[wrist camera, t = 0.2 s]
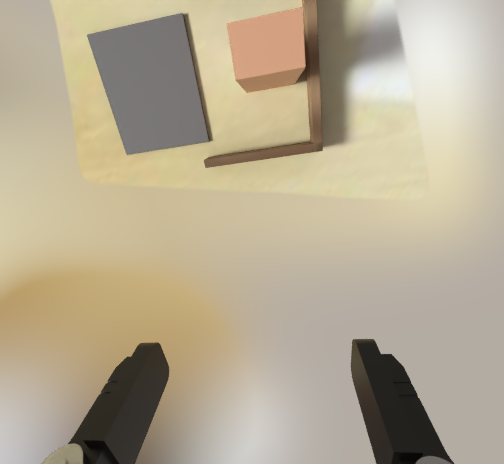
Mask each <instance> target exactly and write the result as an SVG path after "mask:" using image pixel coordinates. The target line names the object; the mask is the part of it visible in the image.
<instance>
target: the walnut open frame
mask: <svg viewBox="0 0 504 464" xmlns="http://www.w3.org/2000/svg"><path fill="white" fill-rule="evenodd" d="M302 4H303V21H304V38H305V55H306V73H307V90H308V107H309V124H310V141H311V142H305V143H298V144H292V145H285V146H278V147H272V148H265V149H259V150H252V151H245V152H239V153H232V154H226V155H219V156H213V157H208V158H207V159H205V160H204V163H205V168H208V167H215V166H222V165H229V164H236V163H242V162H249V161H256V160H263V159H270V158H276V157H283V156H290V155H297V154H304V153H310V152H317V151H323V147H322V123H321V99H320V75H319V50H318V26H317V2H316V0H302Z"/></svg>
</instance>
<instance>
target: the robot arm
mask: <svg viewBox="0 0 504 464" xmlns="http://www.w3.org/2000/svg"><path fill="white" fill-rule="evenodd" d="M351 372H352V378H353V382H354V386H355V390H356V393H357V397H358V400H359V404H360V407H361V411H362V414H363V418H364V421H365V425H366V428H367V432H368V436H369V439H370V443H371V446H372V449H373V453H374V457H375V460H376V463H377V464H454V463H453V461H452V460H451V459H450V457H449V456H448V455H447V453H446V451H445V449H444V447H443V445H442V443H441V441H440V439H439V437H438V435H437V433H436V431H435V429H434V427H433V425H432V423H431V421H430V419H429V417H428V415H427V413H426V411H425V409H424V407H423V405H422V403H421V401H420V399H419V398H418V396H417V393H416V391H415V389H414V387H413V385H412V384H411V381H410V379H409V377H408V375H407V373H406V371H405V369H404V367H403V366H402V365H401V364H400V363H399V362H398V361H397V360H396V359H395V357H394V356H392V354H381V353H380V351H379V349H378V347H377V344H376V342H375V341H374V340H373V339H353V341H352V356H351ZM168 377H169V366H168V363H167V361H166V358H165V355H164V353H163V350H162V348H161V345H160V344H159V343H141V344H139V345H138V346H137V348H136V350H135V352H134V353H133V355H132V356H131V357H127V358H126V359H124V360H123V361H122V362H121V363H120V364H119V365H118V366H117V367H116V368H115V370H114V372H113V373H112V375H111V376H110V378H109V380H108V383H107V384H106V385H105V386H104V388H103V389H102V391H101V394H100V395H99V396H98V397H97V399H96V401H95V402H94V404H93V406H92V407H91V409H90V410H89V412H88V414H87V415H86V417H85V418H84V420H83V422H82V423H81V425H80V427H79V428H78V430H77V432H76V433H75V435H74V437H73V438H72V439H71V441H70V442H69V443H68V444H67V445H64V446H62V447H60V448H58V449H57V450H55V451H54V452H53V453H51V454H50V455H49V456H48V457H47V458H46V459H45V460H44V461H43V462H42V464H135V462H136V459H137V456H138V454H139V451H140V449H141V447H142V444H143V442H144V439H145V437H146V434H147V432H148V429H149V426H150V424H151V422H152V419H153V417H154V414H155V412H156V409H157V407H158V404H159V401H160V399H161V396H162V394H163V391H164V389H165V386H166V384H167V381H168Z"/></svg>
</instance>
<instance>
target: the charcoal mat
mask: <svg viewBox="0 0 504 464" xmlns="http://www.w3.org/2000/svg"><path fill="white" fill-rule="evenodd" d="M87 37H88V40H89V43H90V46H91V49H92V52H93V55H94V58H95V61H96V64H97V67H98V70H99V73H100V76H101V79H102V82H103V85H104V88H105V91H106V94H107V97H108V100H109V103H110V106H111V109H112V112H113V115H114V118H115V121H116V124H117V127H118V130H119V133H120V136H121V139H122V142H123V145H124V148H125V151H126V154H127V155H129V154H135V153H142V152H148V151H154V150H160V149H167V148H173V147H179V146H185V145H192V144H198V143H204V142H209V137H208V132H207V127H206V122H205V118H204V113H203V108H202V103H201V98H200V93H199V88H198V84H197V79H196V74H195V69H194V64H193V59H192V54H191V49H190V45H189V40H188V35H187V30H186V25H185V20H184V15H183V13H180V14H176V15H172V16H167V17H163V18H158V19H154V20H150V21H145V22H141V23H136V24H132V25H128V26H123V27H119V28H115V29H110V30H106V31H101V32H97V33H93V34H88V35H87Z"/></svg>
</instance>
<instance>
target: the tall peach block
mask: <svg viewBox="0 0 504 464" xmlns="http://www.w3.org/2000/svg"><path fill="white" fill-rule="evenodd" d="M227 27H228V34H229V40H230V47H231V53H232V60H233V66H234V73H235V79H236V81H237V82H238V83H239V84H240V86H241V87H242V88H243V89H244V90H245V91H246V92H247V93H248V92H253V91H259V90H265V89H270V88H276V87H281V86H287V85H292V84H295V83H296V81H297V80H298V78H299V76H300V75H301V73H302V72H303V70H304V69H305V67H306V65H305V48H304V31H303V14H302V7H301V8H296V9H291V10H287V11H282V12H278V13H273V14H268V15H264V16H259V17H255V18H250V19H245V20H241V21H236V22H232V23H227Z"/></svg>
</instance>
